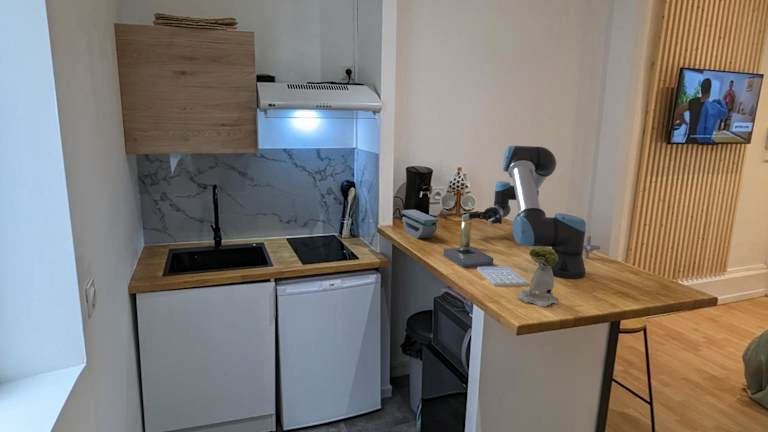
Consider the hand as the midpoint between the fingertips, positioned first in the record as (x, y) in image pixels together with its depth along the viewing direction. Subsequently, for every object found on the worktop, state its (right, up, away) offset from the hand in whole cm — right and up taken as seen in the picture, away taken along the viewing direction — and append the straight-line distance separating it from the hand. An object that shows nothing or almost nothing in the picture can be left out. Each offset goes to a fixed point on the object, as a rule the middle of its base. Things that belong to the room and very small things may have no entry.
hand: (475, 220), depth 233 cm
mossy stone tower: (+8, -26, -69) cm, 75 cm away
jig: (-8, -16, -26) cm, 32 cm away
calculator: (+1, -22, -47) cm, 52 cm away
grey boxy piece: (-26, -8, +14) cm, 31 cm away
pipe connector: (+46, -16, -18) cm, 52 cm away
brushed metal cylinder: (-6, -12, -6) cm, 15 cm away
